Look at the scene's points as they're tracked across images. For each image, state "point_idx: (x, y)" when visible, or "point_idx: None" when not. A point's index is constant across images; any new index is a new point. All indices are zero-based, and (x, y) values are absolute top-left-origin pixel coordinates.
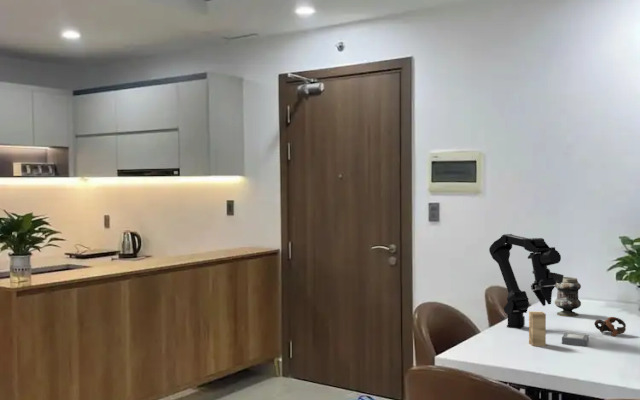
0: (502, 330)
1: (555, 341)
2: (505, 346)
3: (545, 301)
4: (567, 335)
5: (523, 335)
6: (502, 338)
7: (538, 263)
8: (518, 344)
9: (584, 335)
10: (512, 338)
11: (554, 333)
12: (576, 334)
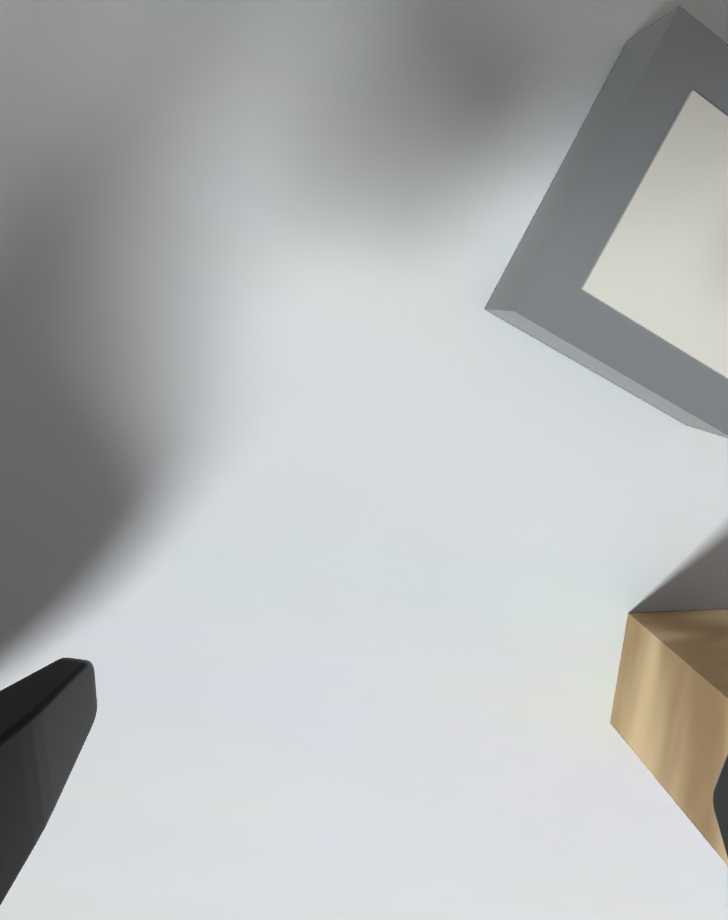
0: (28, 881)
1: (579, 457)
2: (698, 909)
3: (18, 728)
4: (669, 340)
5: (285, 714)
6: (419, 908)
7: None
8: (650, 812)
9: (685, 87)
10: (423, 830)
11: (151, 324)
12: (616, 181)
